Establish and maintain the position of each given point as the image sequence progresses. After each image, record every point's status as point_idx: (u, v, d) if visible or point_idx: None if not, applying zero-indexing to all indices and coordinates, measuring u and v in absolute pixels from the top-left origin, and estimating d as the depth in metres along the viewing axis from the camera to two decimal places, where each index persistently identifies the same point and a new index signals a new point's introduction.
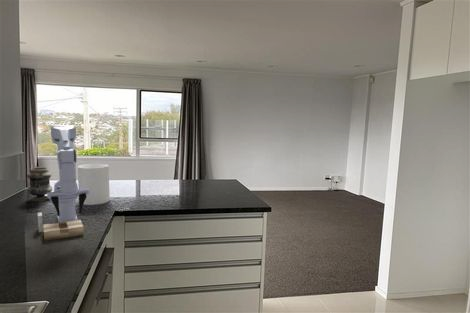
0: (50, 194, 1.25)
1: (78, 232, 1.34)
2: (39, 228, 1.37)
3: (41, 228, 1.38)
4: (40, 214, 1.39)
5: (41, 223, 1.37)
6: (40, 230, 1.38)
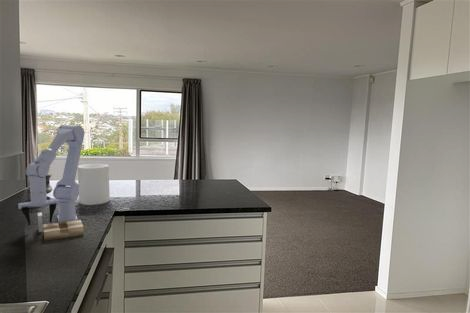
0: (21, 205, 1.34)
1: (78, 232, 1.34)
2: (39, 228, 1.37)
3: (41, 228, 1.38)
4: (40, 214, 1.39)
5: (41, 223, 1.37)
6: (40, 230, 1.38)
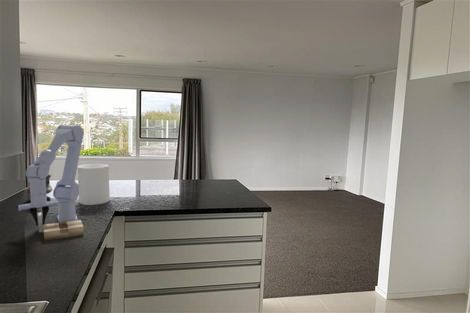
0: (21, 206, 1.34)
1: (78, 232, 1.34)
2: (39, 228, 1.37)
3: (41, 228, 1.38)
4: (40, 214, 1.39)
5: (41, 223, 1.37)
6: (40, 230, 1.38)
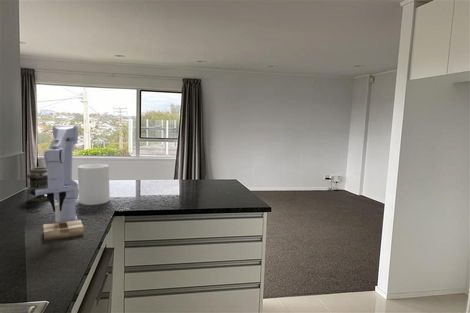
0: (38, 192, 1.31)
1: (78, 232, 1.34)
2: (56, 218, 1.34)
3: (58, 218, 1.34)
4: (57, 204, 1.35)
5: (58, 213, 1.34)
6: (57, 220, 1.34)
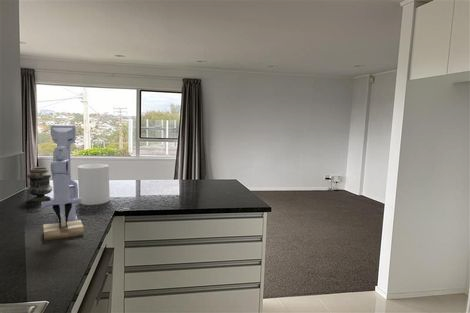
0: (44, 203, 1.30)
1: (78, 232, 1.34)
2: None
3: None
4: (63, 215, 1.35)
5: (64, 224, 1.34)
6: None
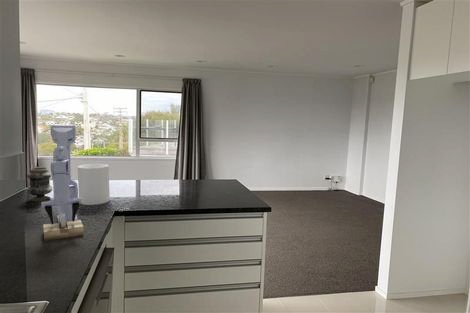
0: (44, 203, 1.30)
1: (78, 232, 1.34)
2: None
3: None
4: (63, 215, 1.35)
5: (64, 224, 1.34)
6: None
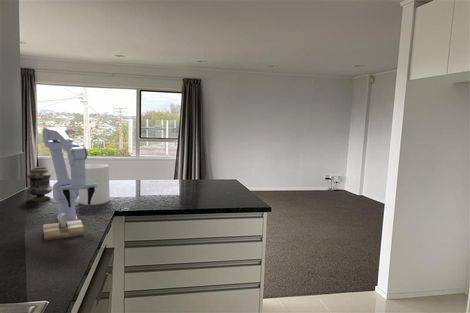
0: (62, 187, 1.39)
1: (78, 232, 1.34)
2: None
3: None
4: (63, 215, 1.35)
5: (64, 224, 1.34)
6: None
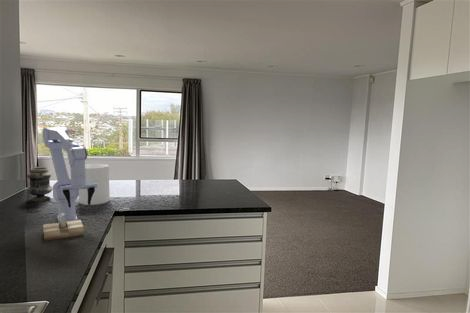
0: (62, 187, 1.39)
1: (78, 232, 1.34)
2: None
3: None
4: (63, 215, 1.35)
5: (64, 224, 1.34)
6: None
